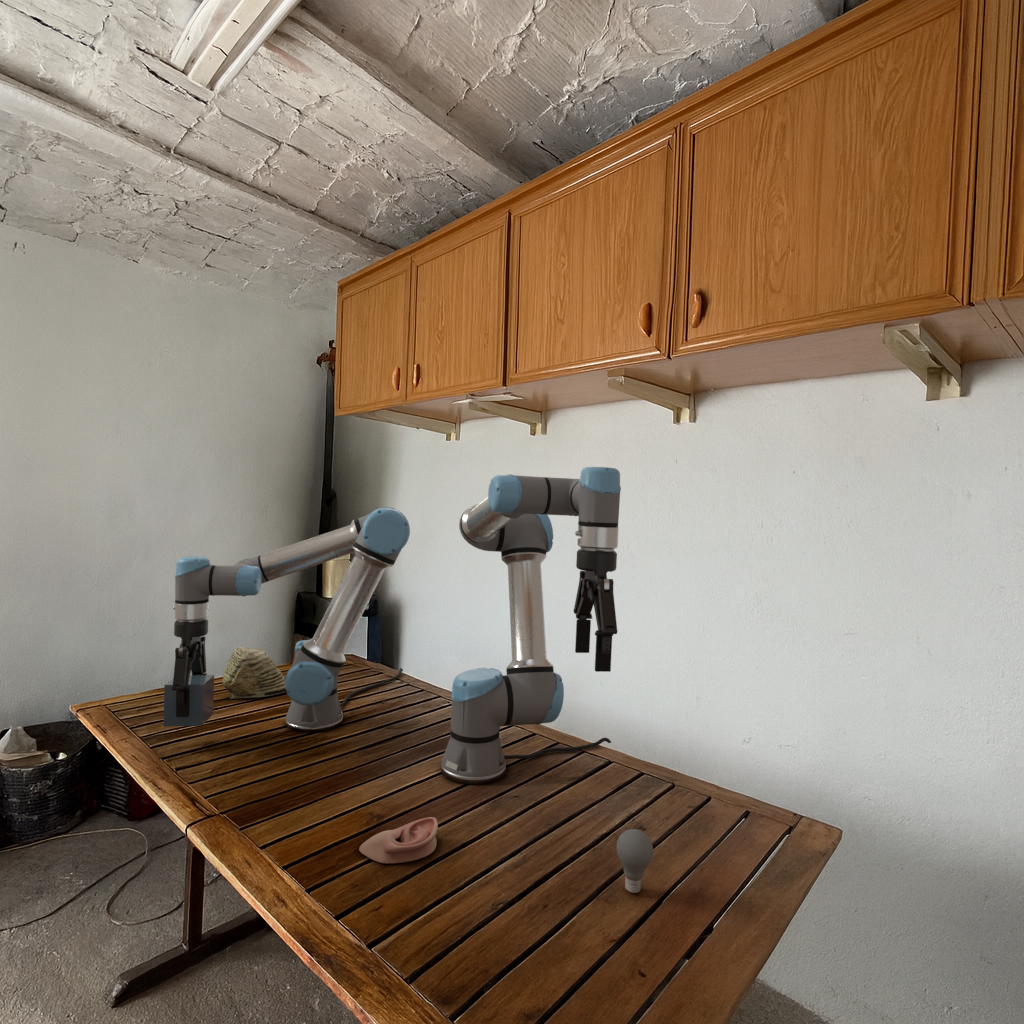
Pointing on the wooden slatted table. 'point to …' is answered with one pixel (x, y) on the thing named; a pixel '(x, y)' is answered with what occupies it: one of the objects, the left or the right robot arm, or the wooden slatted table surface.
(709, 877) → the wooden slatted table surface
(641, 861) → the light bulb
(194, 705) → the block
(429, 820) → the anatomical model
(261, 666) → the fossil
